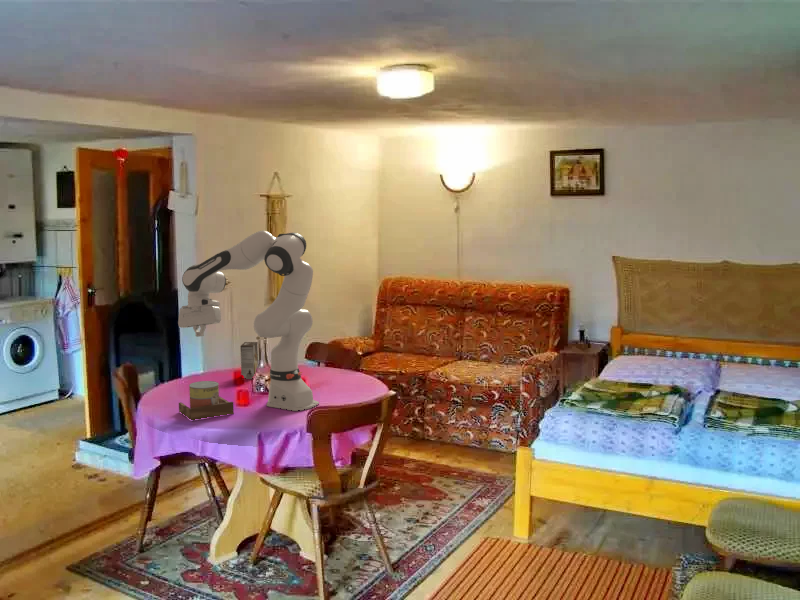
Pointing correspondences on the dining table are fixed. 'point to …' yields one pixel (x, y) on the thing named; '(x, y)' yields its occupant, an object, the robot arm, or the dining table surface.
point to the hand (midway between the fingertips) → (199, 336)
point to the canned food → (204, 393)
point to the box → (207, 410)
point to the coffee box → (249, 359)
